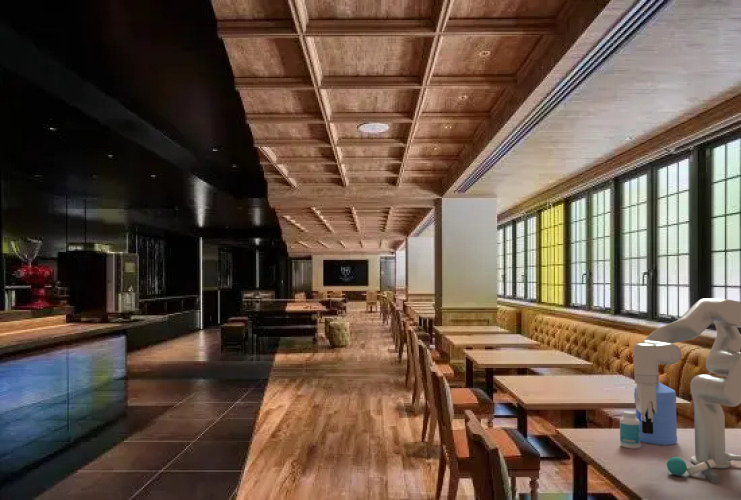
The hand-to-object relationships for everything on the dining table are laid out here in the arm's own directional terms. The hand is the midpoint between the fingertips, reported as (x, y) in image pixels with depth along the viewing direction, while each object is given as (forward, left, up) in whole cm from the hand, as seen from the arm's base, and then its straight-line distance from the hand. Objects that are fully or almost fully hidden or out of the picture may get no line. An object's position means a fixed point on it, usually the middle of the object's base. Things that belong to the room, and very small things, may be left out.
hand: (647, 432), depth 203 cm
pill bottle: (0, -32, -14) cm, 35 cm away
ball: (-9, +1, -10) cm, 14 cm away
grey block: (-19, 0, -13) cm, 23 cm away
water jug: (-12, -44, -14) cm, 48 cm away
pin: (-12, 0, -12) cm, 17 cm away
